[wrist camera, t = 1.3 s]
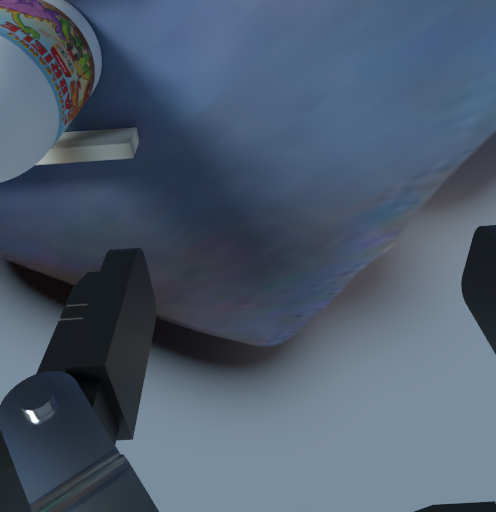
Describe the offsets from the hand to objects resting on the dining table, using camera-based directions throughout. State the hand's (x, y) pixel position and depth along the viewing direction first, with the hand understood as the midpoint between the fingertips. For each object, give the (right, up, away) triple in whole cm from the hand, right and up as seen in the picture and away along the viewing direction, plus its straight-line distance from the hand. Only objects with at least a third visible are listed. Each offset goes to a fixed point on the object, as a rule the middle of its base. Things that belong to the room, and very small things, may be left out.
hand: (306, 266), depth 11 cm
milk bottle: (-15, +15, +22) cm, 30 cm away
